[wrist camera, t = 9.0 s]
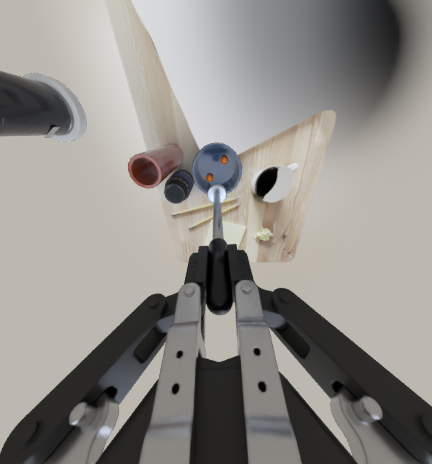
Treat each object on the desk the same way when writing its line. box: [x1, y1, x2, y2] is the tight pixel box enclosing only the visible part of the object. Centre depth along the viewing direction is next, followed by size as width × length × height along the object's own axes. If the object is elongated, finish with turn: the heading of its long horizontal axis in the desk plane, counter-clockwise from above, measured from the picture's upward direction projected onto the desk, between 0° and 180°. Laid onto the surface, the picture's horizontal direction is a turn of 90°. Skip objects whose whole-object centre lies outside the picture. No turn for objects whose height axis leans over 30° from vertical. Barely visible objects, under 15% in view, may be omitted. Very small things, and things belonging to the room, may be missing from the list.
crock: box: [128, 144, 183, 188], centre depth 32 cm, size 5×5×20 cm
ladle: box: [206, 183, 233, 315], centre depth 17 cm, size 3×3×20 cm
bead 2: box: [221, 156, 228, 164], centre depth 40 cm, size 2×2×2 cm
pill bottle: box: [164, 170, 193, 204], centre depth 40 cm, size 6×6×11 cm
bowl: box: [192, 143, 242, 194], centre depth 40 cm, size 12×12×5 cm
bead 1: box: [206, 174, 213, 182], centre depth 42 cm, size 2×2×2 cm
